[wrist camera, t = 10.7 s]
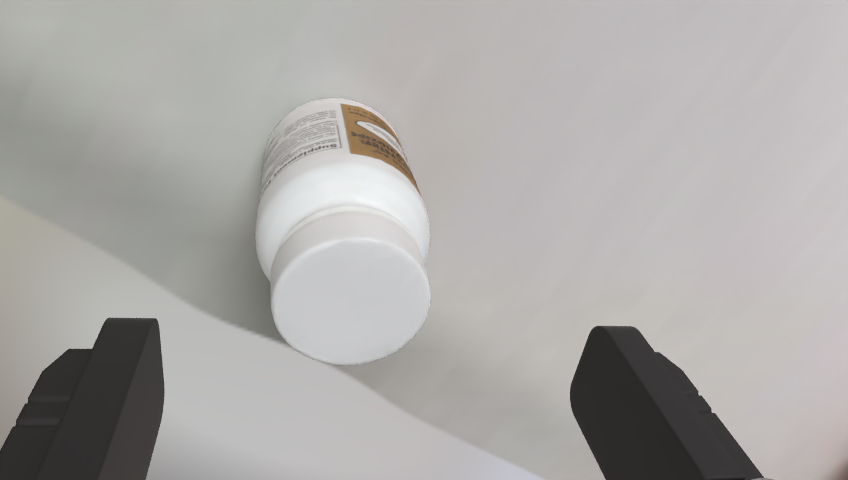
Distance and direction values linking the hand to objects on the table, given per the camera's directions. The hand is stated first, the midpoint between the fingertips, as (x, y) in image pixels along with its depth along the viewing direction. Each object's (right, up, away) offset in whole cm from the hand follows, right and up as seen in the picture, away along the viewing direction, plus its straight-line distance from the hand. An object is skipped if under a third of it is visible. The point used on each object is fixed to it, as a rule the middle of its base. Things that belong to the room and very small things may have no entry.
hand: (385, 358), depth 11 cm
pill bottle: (-2, +5, +8) cm, 10 cm away
